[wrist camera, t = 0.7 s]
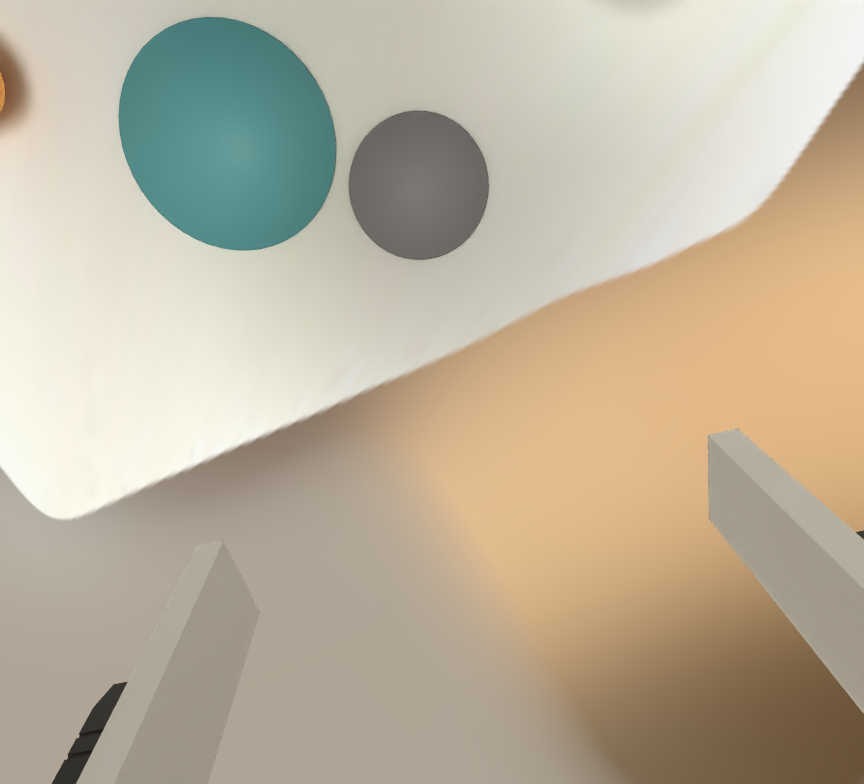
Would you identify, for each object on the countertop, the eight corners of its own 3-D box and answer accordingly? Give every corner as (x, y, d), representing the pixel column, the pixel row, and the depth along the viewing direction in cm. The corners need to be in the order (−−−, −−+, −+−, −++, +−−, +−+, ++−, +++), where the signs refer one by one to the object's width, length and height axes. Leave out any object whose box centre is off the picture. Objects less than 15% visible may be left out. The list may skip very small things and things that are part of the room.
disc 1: (77, 61, 32) (75, 60, 31) (285, -16, 30) (285, -17, 30) (184, 274, 37) (183, 275, 37) (365, 215, 36) (364, 215, 36)
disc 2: (328, 138, 34) (327, 138, 34) (467, 90, 33) (467, 90, 33) (376, 275, 37) (376, 276, 37) (502, 235, 37) (503, 236, 37)
